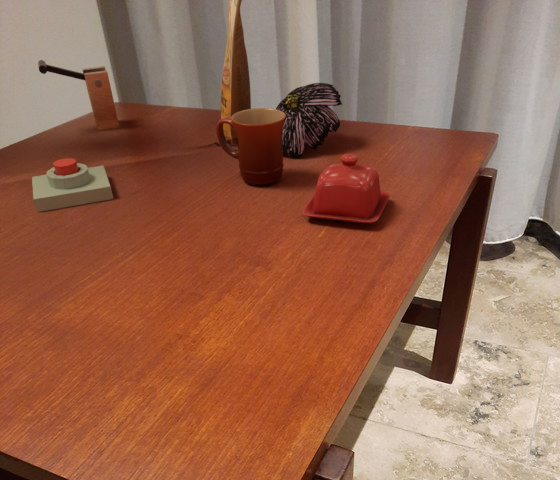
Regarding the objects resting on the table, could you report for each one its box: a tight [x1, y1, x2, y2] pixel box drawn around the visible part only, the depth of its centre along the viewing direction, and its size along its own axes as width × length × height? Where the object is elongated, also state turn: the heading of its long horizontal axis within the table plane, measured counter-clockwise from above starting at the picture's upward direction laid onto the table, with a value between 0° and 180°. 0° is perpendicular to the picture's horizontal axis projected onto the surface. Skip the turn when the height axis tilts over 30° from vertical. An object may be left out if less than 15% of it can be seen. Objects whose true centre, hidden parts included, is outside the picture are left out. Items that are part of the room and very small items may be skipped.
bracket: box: [81, 65, 120, 132], centre depth 113 cm, size 12×10×12 cm
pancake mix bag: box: [220, 0, 252, 147], centre depth 104 cm, size 7×19×28 cm, turn 179°
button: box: [53, 157, 79, 176], centre depth 90 cm, size 4×4×2 cm
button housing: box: [31, 162, 114, 213], centre depth 92 cm, size 12×10×4 cm
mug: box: [215, 107, 286, 187], centre depth 92 cm, size 12×9×10 cm
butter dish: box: [302, 153, 391, 224], centre depth 81 cm, size 12×12×8 cm
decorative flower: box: [275, 82, 343, 160], centre depth 103 cm, size 15×12×15 cm
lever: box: [37, 59, 93, 82], centre depth 108 cm, size 12×5×2 cm, turn 110°
